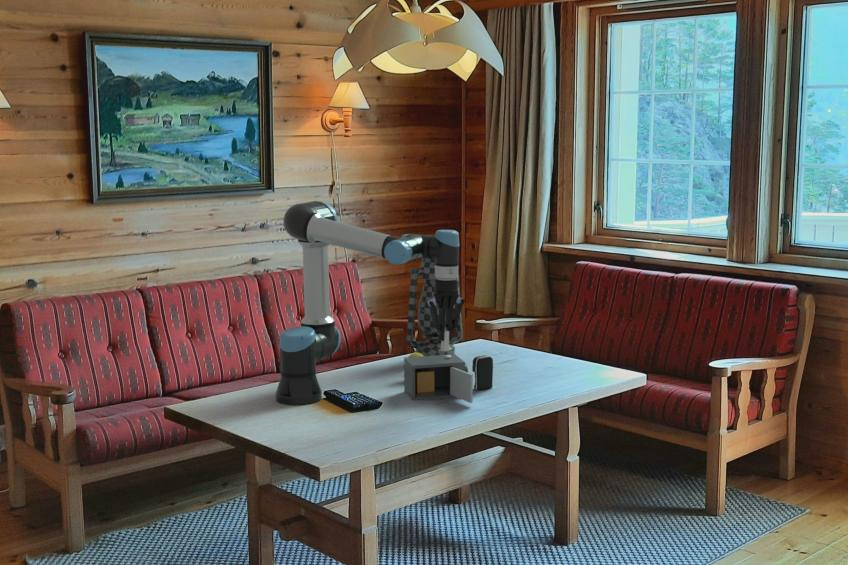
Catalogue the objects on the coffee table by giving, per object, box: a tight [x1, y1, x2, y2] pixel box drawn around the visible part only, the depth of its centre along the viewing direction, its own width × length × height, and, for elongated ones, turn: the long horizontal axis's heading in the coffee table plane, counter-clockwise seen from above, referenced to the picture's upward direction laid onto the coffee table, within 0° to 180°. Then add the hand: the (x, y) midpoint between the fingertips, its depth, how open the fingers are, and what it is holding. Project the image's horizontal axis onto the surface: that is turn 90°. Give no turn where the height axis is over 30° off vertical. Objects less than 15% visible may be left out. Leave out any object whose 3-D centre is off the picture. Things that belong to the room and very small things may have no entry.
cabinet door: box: [450, 367, 474, 404], centre depth 334 cm, size 12×1×9 cm, turn 32°
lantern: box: [406, 258, 464, 356], centre depth 387 cm, size 24×18×45 cm
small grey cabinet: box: [403, 353, 469, 402], centre depth 343 cm, size 20×12×13 cm, turn 105°
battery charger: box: [471, 354, 494, 391], centre depth 351 cm, size 7×4×11 cm, turn 125°
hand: (444, 350), depth 330 cm, fingers closed
